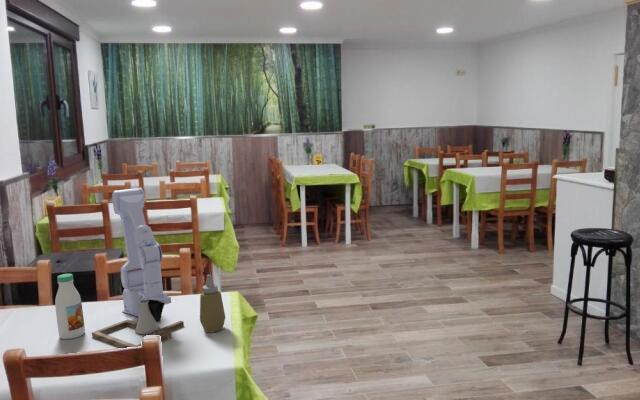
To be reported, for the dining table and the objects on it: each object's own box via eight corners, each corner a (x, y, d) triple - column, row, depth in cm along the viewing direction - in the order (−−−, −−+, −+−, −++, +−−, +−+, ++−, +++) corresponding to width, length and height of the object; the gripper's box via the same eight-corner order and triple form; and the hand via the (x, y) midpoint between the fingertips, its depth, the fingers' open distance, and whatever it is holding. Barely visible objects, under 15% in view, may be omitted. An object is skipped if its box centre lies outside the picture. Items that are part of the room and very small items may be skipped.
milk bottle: (59, 341, 174) (51, 280, 171) (58, 333, 181) (51, 274, 178) (86, 336, 177) (79, 275, 174) (84, 328, 184) (77, 270, 181)
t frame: (92, 337, 177) (91, 332, 176) (149, 315, 193) (148, 311, 193) (135, 353, 163) (135, 348, 163) (192, 328, 180) (192, 324, 179)
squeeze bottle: (202, 325, 182) (197, 272, 179) (227, 323, 182) (223, 270, 180) (199, 335, 174) (194, 279, 171) (225, 333, 174) (220, 277, 172)
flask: (150, 336, 175) (147, 306, 173) (130, 334, 177) (127, 304, 175) (163, 326, 182) (159, 297, 180) (143, 325, 184) (140, 296, 182)
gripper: (128, 281, 181) (133, 321, 183) (156, 288, 172) (160, 329, 175) (147, 275, 187) (150, 314, 189) (174, 282, 178) (178, 322, 180)
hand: (156, 321), depth 182 cm, fingers closed, pressing on flask
